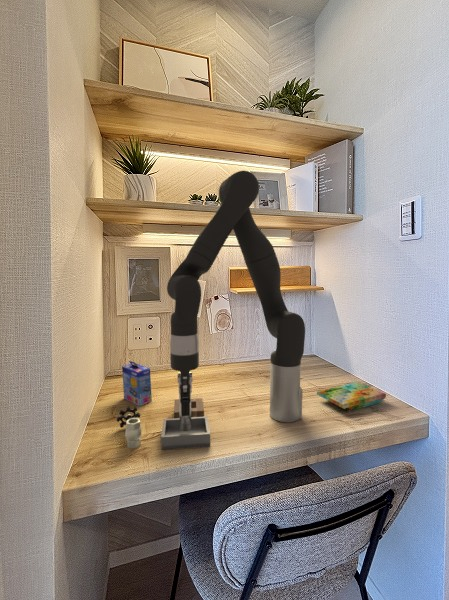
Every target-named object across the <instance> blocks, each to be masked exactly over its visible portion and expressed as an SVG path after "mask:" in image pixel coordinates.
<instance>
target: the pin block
mask: <svg viewBox="0 0 449 600" xmlns="http://www.w3.org/2000/svg"><path fill="white" fill-rule="evenodd" d="M173 404H174V405H173V419H174V418H180V417H179V398H177V399H174V403H173ZM191 417H205V407H204V401H203V398H201V397H198V398H191Z"/></svg>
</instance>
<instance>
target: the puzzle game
mask: <svg viewBox="0 0 449 600" xmlns="http://www.w3.org/2000/svg"><path fill="white" fill-rule="evenodd" d="M316 395H317V396H319V397H321V398H323V399H325V400H326V401H328V402H329V403H332V404H334V405H336V406H338V407H339V408H342V409H343V410H345V411H346V412H347V411H348V412H351V411H355V410H359V409H362V408H365V407H366V408H367V407H369V406H372V405H373V406H374V405H377V404H380V403H381V402H383V401H384V400H385V399H386V398H387V394H386V393H385V392H383V391H380V390H378V389H375V388H373V387H370V386H369V385H365V384H363V383H361V382H357V381H356V382H352V383H351V382H350V383H347V384H344V385H338V386H334V387H331V388H327V389H321V390H318V391H316Z"/></svg>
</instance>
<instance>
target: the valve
mask: <svg viewBox="0 0 449 600" xmlns="http://www.w3.org/2000/svg"><path fill="white" fill-rule="evenodd" d="M125 408H126V409H125V410H123V409H120V410H119V411H118V412H119V415H120V416H116V422H120V423H119V427H120V428H124V426H125V430H124V431H125V432H124V435H125V436H124V437H125V439H126V446H127V448H129V449H135V448H138V447H139V446H141V445H142V444H141V443H142V442H141V441H142V440H141V437H142V428H141V420H140V418H141V414H140V413H139V412H138V407H136V406H135V407H133V408H132V409H131V406H130V405H126V407H125ZM136 412H137V413H136ZM130 413H132V414H133V415H132V414H130ZM125 414H126V415H125Z"/></svg>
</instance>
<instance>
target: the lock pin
mask: <svg viewBox="0 0 449 600" xmlns="http://www.w3.org/2000/svg"><path fill="white" fill-rule="evenodd" d="M183 398H188V397H183ZM178 399H179V417H180V430H181V431H189V430H190V429H191V401H190V415H189V416H182V415H181V402H180V399H181V398H180V394H179V393H178ZM190 399H192V393H191V394H190Z"/></svg>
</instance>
